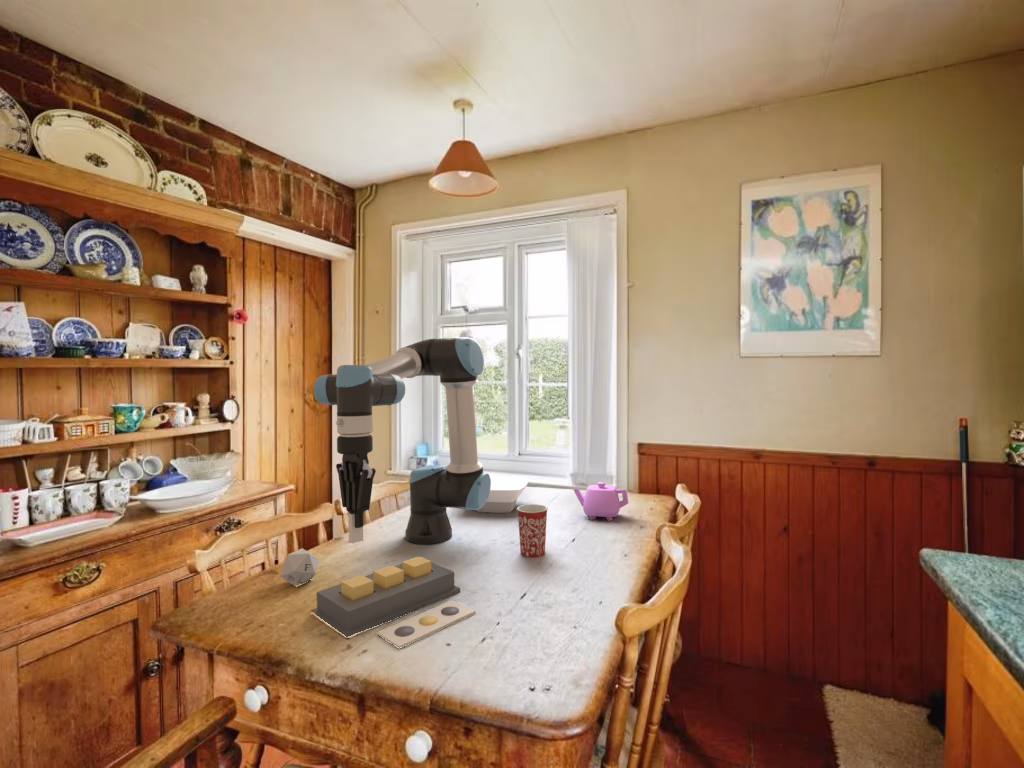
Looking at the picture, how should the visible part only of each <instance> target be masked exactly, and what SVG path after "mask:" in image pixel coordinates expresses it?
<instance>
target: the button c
mask: <svg viewBox="0 0 1024 768" xmlns="http://www.w3.org/2000/svg"><path fill="white" fill-rule="evenodd" d="M431 563H432V560H429V559H427V558H425V557H421V556H415V557H412V558H410V559H406V560H403V561H401V564H402V570H404V574H405V575H407V576H410V577H412V578H417V577H419V576H422V575H425V574H428V573H431Z"/></svg>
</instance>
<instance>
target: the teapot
mask: <svg viewBox="0 0 1024 768" xmlns="http://www.w3.org/2000/svg"><path fill="white" fill-rule="evenodd" d="M627 491H628V490H627V489H625V488H623V489H622V488H617V487H616V486H615V485H608V484H606V482H602V481H599V482H597V484H589V485H588V486H587V488H586V491H585V494H583V493H582V492H581V490H579V488H577V487H575V488H573V492H574V494H575V496H576V497H577V499H578V502H579V503H580V505H581V507H582V508H583V509H582V510H583V514H585V515H586V516H588V517H589V518H590V519H589V518H588V519H589V520H591V519H594V520H596V519H597V517H598V518H599V517H602V518H604V517H605V520H606V519H607V520H606V521H608V520H612V521H613V520H614V519H613V518H614V517H617V516H618V515H619V512H620V510H621V508H623V507H625V506H626V505H629V498H628V497H629V496H628V493H627ZM619 494H621V495H622V500H620V497H619Z"/></svg>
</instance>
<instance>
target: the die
mask: <svg viewBox="0 0 1024 768" xmlns="http://www.w3.org/2000/svg"><path fill="white" fill-rule="evenodd" d="M319 561H320V559H319V558H318V557H317V556H315V555H313V554H312V553H311V552H309V551H307V550H306V549H304V548H303V547H302V548H300V549H298V550H295V551H293V552H291V553H288V554H286V556H285V560H284V562H283V565H282V568H281V571H280V574H279V577H280V578H282V579H283V580H285V581H286V582H288V583H289V584H290V585H292V584H293V585H292V586H294V585H299V584H303V583H305V582H307V581H309V580H310V579H312V578H313V579H314V577H315V575H316V572H317V568H318V565H319ZM313 579H312V580H313ZM309 582H310V581H309ZM307 583H308V582H307ZM305 584H306V583H305ZM303 585H304V584H303Z"/></svg>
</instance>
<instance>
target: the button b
mask: <svg viewBox="0 0 1024 768" xmlns="http://www.w3.org/2000/svg"><path fill="white" fill-rule="evenodd" d="M395 566H396V565H395ZM395 566H394V565H393V564H391V565H388V566H385V567H382V568H379V569H376V570H373V571H372V574H373V583H374V584H376V585H378V586H379V587H381V588H383V589H386V588H389V587H392V586H395V585H397V584H400V583H403V582H404V570H401V569H399V568H397V567H395Z"/></svg>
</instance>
